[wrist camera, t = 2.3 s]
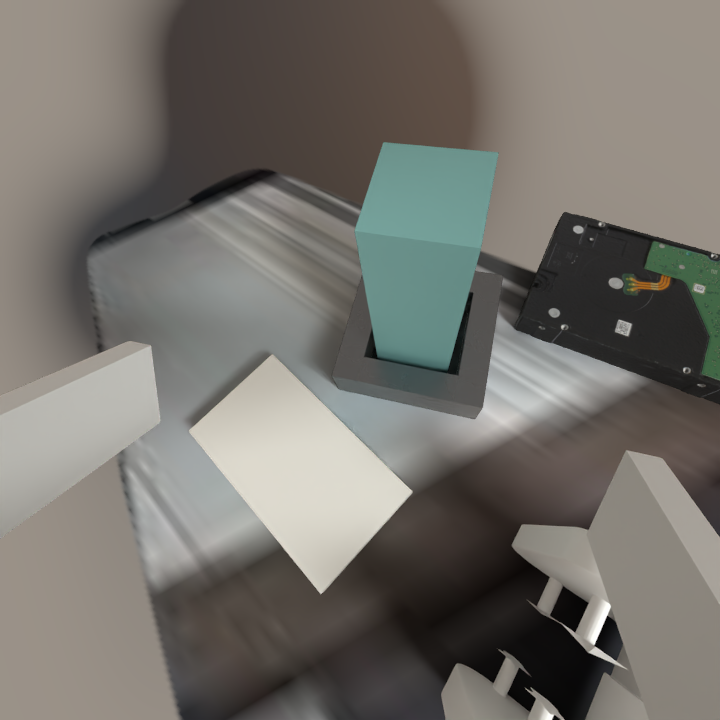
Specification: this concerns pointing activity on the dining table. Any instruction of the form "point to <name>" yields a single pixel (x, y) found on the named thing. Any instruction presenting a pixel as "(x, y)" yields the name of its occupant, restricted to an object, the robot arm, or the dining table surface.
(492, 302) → the socket block
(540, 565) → the cable organizer
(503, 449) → the dining table surface
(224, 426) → the off-white pad
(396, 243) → the teal peg
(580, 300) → the disk drive
